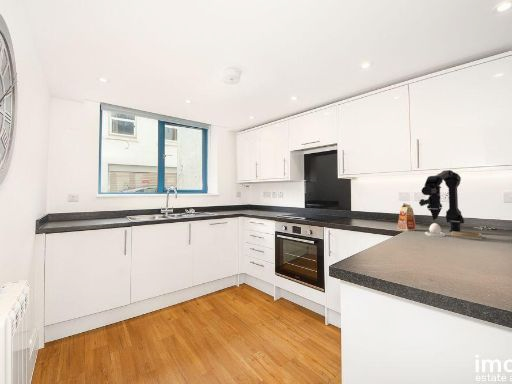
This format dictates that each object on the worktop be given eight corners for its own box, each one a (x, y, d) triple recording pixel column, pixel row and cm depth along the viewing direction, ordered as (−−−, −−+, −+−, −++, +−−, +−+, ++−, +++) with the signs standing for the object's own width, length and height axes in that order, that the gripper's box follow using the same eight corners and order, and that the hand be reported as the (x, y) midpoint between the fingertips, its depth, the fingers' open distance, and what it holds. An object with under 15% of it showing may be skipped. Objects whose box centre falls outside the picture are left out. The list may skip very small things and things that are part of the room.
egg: (432, 234, 161) (432, 222, 161) (442, 235, 156) (442, 223, 156) (427, 234, 158) (427, 223, 158) (438, 236, 153) (437, 224, 153)
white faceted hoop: (426, 233, 164) (426, 231, 165) (446, 234, 157) (446, 232, 157) (424, 235, 157) (424, 232, 157) (444, 236, 150) (444, 234, 150)
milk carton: (407, 230, 177) (406, 203, 177) (396, 229, 186) (396, 202, 186) (416, 230, 179) (416, 203, 180) (406, 228, 188) (405, 202, 188)
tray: (452, 234, 159) (451, 231, 159) (481, 236, 150) (481, 233, 150) (450, 236, 150) (450, 233, 150) (481, 239, 141) (481, 235, 141)
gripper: (422, 195, 170) (422, 217, 170) (417, 195, 156) (417, 219, 156) (441, 195, 162) (442, 218, 162) (439, 195, 148) (439, 220, 148)
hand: (435, 219), depth 157 cm, fingers open, 9 cm apart
